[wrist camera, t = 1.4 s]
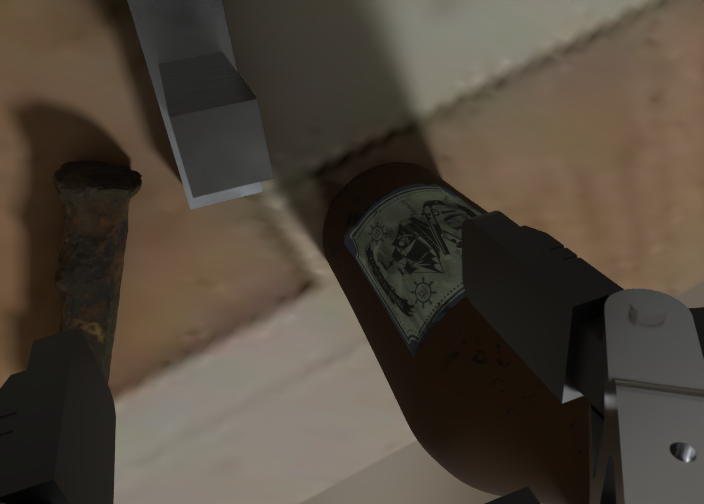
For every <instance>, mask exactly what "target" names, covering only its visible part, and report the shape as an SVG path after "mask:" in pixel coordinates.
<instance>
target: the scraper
mask: <svg viewBox="0 0 704 504" xmlns="http://www.w3.org/2000/svg"><path fill="white" fill-rule="evenodd" d="M127 1H128V4H129V8H130V11H131V14H132V18H133V21H134V24H135V28H136V31H137V34H138V37H139V41H140V44H141V47H142V51H143V54H144V57H145V61H146V64H147V67H148V71H149V74H150V77H151V81H152V84H153V87H154V90H155V94H156V97H157V100H158V104H159V107H160V110H161V114H162V117H163V120H164V124H165V127H166V130H167V134H168V137H169V140H170V143H171V147H172V150H173V153H174V157H175V160H176V163H177V167H178V170H179V173H180V177H181V180H182V183H183V186H184V190H185V193H186V196H187V200H188V203H189V206H190V210H191V209H195V208H199V207H203V206H207V205H211V204H215V203H219V202H223V201H227V200H231V199H235V198H239V197H243V196H247V195H251V194H255V193H259V192H263V191H264V190H263V185H262V181H265V180H269V179H273V178H274V177H273V172H272V167H271V162H270V157H269V153H268V148H267V143H266V138H265V133H264V128H263V124H262V119H261V114H260V109H259V104H258V99H257V98H256V96H255V95H254V94H253V92H252V91H251V90H250V88H249V87H248V86H247V84H246V83H245V82H244V80H243V79H242V78H241V76H240V75H239V73H238V72H237V67H236V63H235V58H234V53H233V49H232V44H231V40H230V35H229V31H228V26H227V22H226V17H225V13H224V8H223V4H222V0H127Z"/></svg>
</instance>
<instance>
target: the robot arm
mask: <svg viewBox="0 0 704 504" xmlns="http://www.w3.org/2000/svg"><path fill="white" fill-rule="evenodd" d="M461 234H462V280H463V286H464V289H465V292H466V295H467V297H468V299H469V301H470V302H471V304H472V305H473V306H474V307H475V308H476V309H477V311H478V312H479V313H480V314H481V315H482V316H483V317H484V318H485V319H486V320H487V322H488V323H489V324H490V325H491V326H492V327H493V328H494V329H495V330H496V331H497V333H498V334H499V335H500V336H501V337H502V338H503V339H504V340H505V341H506V342H507V344H508V345H509V346H510V347H511V348H512V349H513V350H514V351H515V352H516V353H517V355H518V356H519V357H520V358H521V359H522V360H523V361H524V362H525V363H526V364H527V366H528V367H529V368H530V369H531V370H532V371H533V372H534V373H535V374H536V375H537V377H538V378H539V379H540V380H541V381H542V382H543V383H544V384H545V385H546V386H547V388H548V389H549V390H550V391H551V392H552V393H553V394H554V395H555V396H556V397H557V399H558V400H559V401H560V402H561V403H565V402H568V401H570V400H573V399H576V398H578V397H581V396H584V397H585V398H586V399H587V400H588V401H589V402H590V406H589V413H588V426H589V474H590V502H589V504H704V307H702V308H688V307H687V306H685V305H684V304H683V303H682V302H681V301H679V300H678V299H676V298H674V297H672V296H670V295H668V294H665V293H662V292H659V291H654V290H649V289H627V290H624V289H623V288H621V287H620V286H618V285H617V284H616V283H614V282H613V281H612V280H610V279H609V278H608V277H606V276H605V275H603V274H602V273H601V272H599V271H598V270H597V269H595V268H594V267H592V266H591V265H590V264H588V263H587V262H586V261H584V260H583V259H582V258H577V255H576V254H575V253H573V252H572V251H571V250H569V249H568V248H564V245H562V244H561V243H560V242H558V241H557V240H556V239H554V238H553V237H551V236H550V235H549V234H547V233H545V232H542V231H539V230H536V229H533V228H531V227H528V226H521V227H520V226H518V225H517V224H516V223H515V222H513V221H512V220H511V219H509V218H508V217H507V216H505V215H504V214H503V213H501V212H500V211H493V212H489V213H486V214H482V215H479V216H475V217H472V218H468V219H465V220H464V221H463V224H462V230H461ZM115 428H116V414H115V406H114V401H113V398H112V394H111V391H110V388H109V386H108V384H107V382H106V380H105V378H104V376H103V373H102V371H101V369H100V367H99V365H98V363H97V361H96V359H95V357H94V355H93V353H92V351H91V348H90V346H89V344H88V342H87V340H86V338H85V336H84V334H83V333H82V332H81V330H80V329H78V328H77V329H73V330H69V331H66V332H62V333H59V334H55V335H52V336H48V337H45V338H41V339H37V340H35V341H34V343H33V346H32V350H31V355H30V359H29V363H28V368H27V370H26V371H23V372H20V373H16V374H13V375H10V377H9V378H8V379H7V381H6V382H5V383H4V385H3V386H2V387H1V388H0V504H113V499H114V463H115ZM485 504H540V502H539V501H538V499H537V498H536V497H535V495H534V494H533V492H532V491H531V490H530V488H529V487H528V486H527V487H524V488H522V489H520V490H517V491H515V492H512V493H510V494H507V495H505V496H502V497H500V498H498V499H495V500H493V501H490V502H488V503H485Z"/></svg>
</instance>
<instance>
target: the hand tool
mask: <svg viewBox="0 0 704 504" xmlns="http://www.w3.org/2000/svg"><path fill="white" fill-rule="evenodd" d="M141 177H142V175H140V174H139V173H138V172H137V171H133V170H131V169H130V168H129V167H125V166H116V165H112V164H108V163H104V162H95V161H76V162H69V163H65V164H63V165H62V166H61V169H59V170H58V171H56V172H55V174H54V176H53V179H54V184H55V187H56V189H57V191H58V193H59V195H60V199H61V202H62V205H63V208H64V212H65V216H64V228H63V232H62V238H61V251H60V253H59V259H58V262H59V267H58V270H57V272H56V274H55V284H56V285H57V286H58V287H59V289H60V292H61V296H62V310H61V333H62V332H66V331H69V330H73V329H77V328H78V329H80V330H81V332H82V333H83V334H84V336H85V338H86V340H87V342H88V344H89V346H90V348H91V351H92V353H93V355H94V357H95V359H96V361H97V363H98V365H99V367H100V369H101V371H102V373H103V376H104V378H105V380H106V382H107V384H108V381H109V373H110V363H111V353H112V347H113V342H114V334H115V329H116V322H117V311H118V305H119V296H120V286H121V279H122V272H123V265H124V252H125V247H126V239H127V233H128V208H129V202H130V199H131V198H132V197H133V196H134V195H135V194H137V192H138V191H139V189H140V188H141V184H142V180H141Z"/></svg>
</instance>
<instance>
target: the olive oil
mask: <svg viewBox="0 0 704 504" xmlns="http://www.w3.org/2000/svg"><path fill="white" fill-rule="evenodd" d="M486 213H488V212H487V211H485V210H484V209H483V208H481V207H480V206H478V205H477V204H475V203H474V202H472V201H471V200H470V199H468V198H467V197H466V196H464V195H463V194H461V193H460V192H459V191H457V190H456V189H455V188H453V187H452V186H451V185H449V184H448V183H446V182H445V181H444V180H442V179H441V178H440V177H438V176H437V175H435V174H434V173H432V172H431V171H429V170H427V169H425V168H423V167H421V166H418V165H414V164H409V163H391V164H385V165H381V166H378V167H375V168H373V169H370V170H368V171H366V172H364V173H363V174H361V175H359V176H358V177H356V178H355V179H354V180H352V181H351V182H350V183H349V184H348V185H347V186H346V187H345V188H344V189H343V190H342V191H341V192H340V193H339V195H338V196H337V197H336V199H335V200H334V202H333V204H332V205H331V207H330V209H329V211H328V214H327V217H326V220H325V224H324V229H323V246H324V251H325V255H326V258H327V260H328V263H329V265H330V267H331V269H332V271H333V273H334V274H335V276H336V278H337V280H338V282H339V284H340V286H341V288H342V290H343V291H344V293H345V295H346V297H347V299H348V301H349V303H350V305H351V307H352V309H353V311H354V313H355V315H356V317H357V319H358V321H359V323H360V325H361V327H362V329H363V331H364V333H365V335H366V337H367V339H368V341H369V343H370V345H371V347H372V350H373V352H374V354H375V356H376V358H377V360H378V362H379V364H380V366H381V368H382V370H383V372H384V374H385V377H386V379H387V381H388V383H389V385H390V387H391V389H392V391H393V393H394V396H395V398H396V400H397V402H398V404H399V406H400V408H401V410H402V412H403V415H404V417H405V419H406V421H407V423H408V425H409V427H410V429H411V430H412V432H413V434H414V435H415V437H416V438H417V440H418V441H419V443H420V444H421V445H422V447H423V448H424V449H425V450H426V451H427V452H428V453H429V454H430V455H431V457H433V458H434V459H435V460H436V461H437V462H438V463H439V464H440V465H441V466H442V467H444V468H445V469H446V470H447V471H448V472H449V473H451V474H452V475H453V476H454V477H456V478H457V479H459V480H460V481H462V482H464V483H465V484H467V485H469V486H471V487H473V488H476V489H478V490H481V491H484V492H487V493H491V494H494V495H499V496H505V495H507V494H510V493H512V492H515V491H517V490H520V489H522V488H524V487H527V486H528V487H529V488H530V490H531V491H532V492H533V494H534V495H535V497H536V498H537V499H538V501H539V502H540V503H543V504H589V502H590V474H589V426H588V413H589V406H590V402H589V401H588V400H587V399H586V398H585V397H584V396H581V397H578V398H576V399H573V400H570V401H568V402H565V403H561V402H560V401H559V400H558V399H557V397H556V396H555V395H554V394H553V393H552V392H551V391H550V390H549V389H548V388H547V386H546V385H545V384H544V383H543V382H542V381H541V380H540V379H539V378H538V377H537V375H536V374H535V373H534V372H533V371H532V370H531V369H530V368H529V367H528V366H527V364H526V363H525V362H524V361H523V360H522V359H521V358H520V357H519V356H518V355H517V353H516V352H515V351H514V350H513V349H512V348H511V347H510V346H509V345H508V344H507V342H506V341H505V340H504V339H503V338H502V337H501V336H500V335H499V334H498V333H497V331H496V330H495V329H494V328H493V327H492V326H491V325H490V324H489V323H488V322H487V320H486V319H485V318H484V317H483V316H482V315H481V314H480V313H479V312H478V311H477V309H476V308H475V307H474V306H473V305H472V304H471V302H470V301H469V299H468V297H467V295H466V292H465V289H464V286H463V280H462V234H461V230H462V224H463V221H464V220H465V219H468V218H472V217H475V216H479V215H482V214H486Z"/></svg>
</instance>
